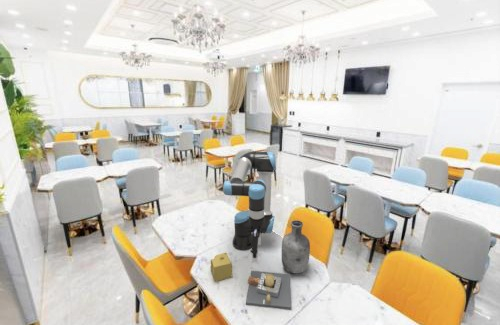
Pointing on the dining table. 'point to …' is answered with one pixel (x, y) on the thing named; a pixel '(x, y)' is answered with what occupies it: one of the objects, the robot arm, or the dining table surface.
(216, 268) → the cheese
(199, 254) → the dining table surface
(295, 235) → the vase
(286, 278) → the jig
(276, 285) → the handled square frame
